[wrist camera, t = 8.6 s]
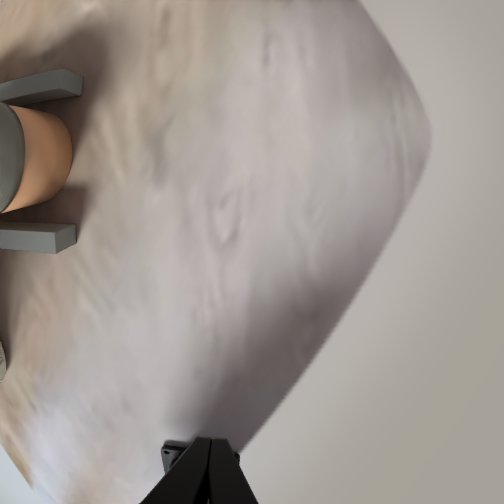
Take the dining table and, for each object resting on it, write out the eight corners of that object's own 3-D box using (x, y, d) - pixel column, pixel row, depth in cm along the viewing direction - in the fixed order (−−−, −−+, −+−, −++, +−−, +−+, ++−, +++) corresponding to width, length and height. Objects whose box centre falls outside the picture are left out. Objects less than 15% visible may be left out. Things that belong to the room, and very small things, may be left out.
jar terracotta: (72, 205, 17) (15, 223, 12) (4, 204, 17) (-53, 219, 12) (78, 105, 16) (21, 90, 10) (8, 116, 16) (-49, 110, 10)
